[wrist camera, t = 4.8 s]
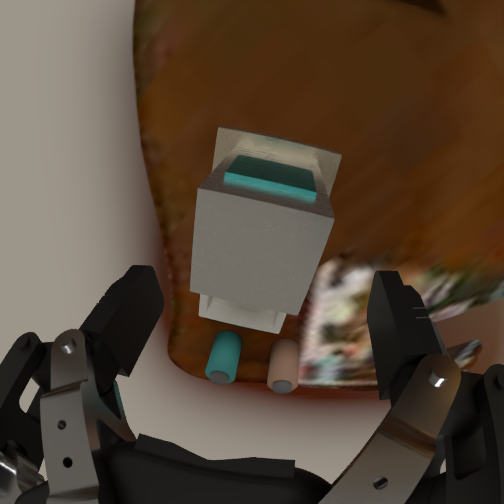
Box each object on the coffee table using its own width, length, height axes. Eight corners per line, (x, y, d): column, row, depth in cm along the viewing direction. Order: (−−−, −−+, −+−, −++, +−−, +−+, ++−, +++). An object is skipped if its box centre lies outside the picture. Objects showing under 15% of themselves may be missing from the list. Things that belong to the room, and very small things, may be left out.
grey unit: (339, 151, 26) (374, 205, 15) (311, 242, 32) (316, 333, 21) (222, 125, 26) (167, 158, 15) (208, 219, 32) (165, 298, 21)
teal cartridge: (244, 334, 42) (236, 376, 36) (240, 350, 45) (232, 390, 38) (216, 328, 42) (204, 368, 36) (214, 344, 45) (203, 383, 38)
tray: (302, 255, 33) (302, 271, 31) (280, 318, 39) (278, 334, 37) (211, 235, 33) (204, 248, 31) (204, 301, 39) (198, 315, 37)
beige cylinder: (302, 342, 42) (301, 384, 35) (294, 357, 44) (292, 397, 38) (275, 336, 42) (270, 379, 35) (268, 352, 44) (263, 393, 38)
